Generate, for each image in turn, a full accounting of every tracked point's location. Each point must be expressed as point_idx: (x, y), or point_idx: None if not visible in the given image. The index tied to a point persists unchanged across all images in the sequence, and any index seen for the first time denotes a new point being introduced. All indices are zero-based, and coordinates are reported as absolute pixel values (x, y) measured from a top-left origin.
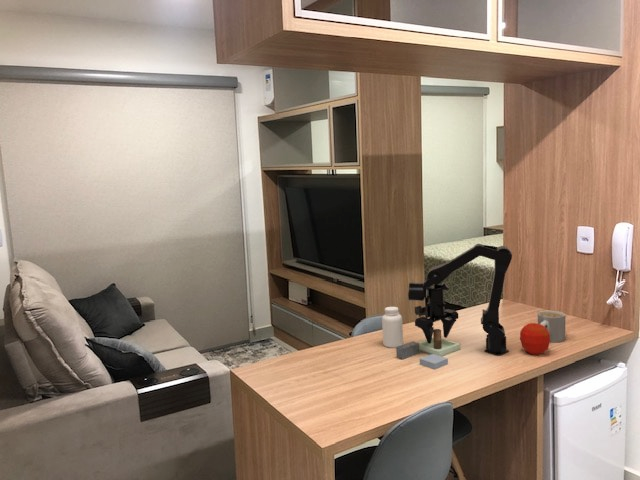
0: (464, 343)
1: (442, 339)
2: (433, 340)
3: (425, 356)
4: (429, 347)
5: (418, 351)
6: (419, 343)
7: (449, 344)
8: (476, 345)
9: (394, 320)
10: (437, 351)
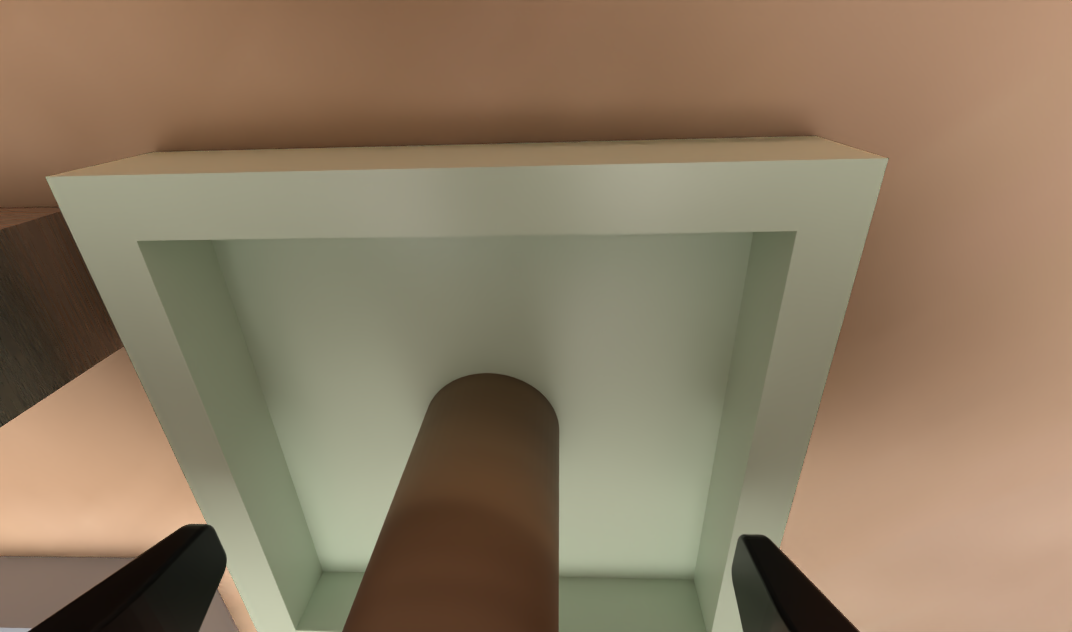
0: (1002, 505)
1: (775, 399)
2: (398, 499)
3: (9, 629)
4: (236, 498)
5: (82, 360)
6: (170, 227)
7: (715, 501)
8: (985, 622)
9: None
10: (261, 626)
